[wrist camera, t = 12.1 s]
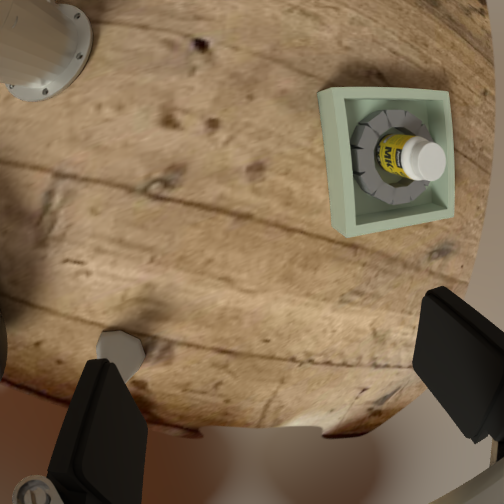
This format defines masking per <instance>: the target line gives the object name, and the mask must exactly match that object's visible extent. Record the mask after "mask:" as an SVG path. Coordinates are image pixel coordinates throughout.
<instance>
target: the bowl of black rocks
mask: <svg viewBox="0 0 504 504" xmlns="http://www.w3.org/2000/svg"><path fill="white" fill-rule="evenodd" d="M7 346H8V345H7V333H6V327H5V322H4V319H3V316H2V313H1V310H0V381H1V379H2V376H3V374H4V370H5V366H6V360H7Z"/></svg>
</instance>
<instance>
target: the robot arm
mask: <svg viewBox="0 0 504 504" xmlns="http://www.w3.org/2000/svg"><path fill="white" fill-rule="evenodd" d="M79 17H80V18H79ZM78 18H79V19H78ZM92 43H93V31H92V25H91V23H90V21H89V18H88V17H87V16H86V15H85V13H84V12H83V11H81V10H80V9H79V8H77V7H75V6H73V5H69V4H56V3H55V0H0V83H5V85H6V87H7V89H8V90H9V92H10V93H11V94H12V95H13V96H14V97H16V98H18V99H20V100H24V101H29V102H38V101H44V100H47V99H49V98H52V97H54V96H55V95H57V94H59V93H61V92H62V91H63V90H64V89H66V88H67V87H68V86H69V85H70V84H71V83H72V82H73V81H74V80H75V79H76V78H77V76H78V75H79V73H80V72H81V71H82V69H83V67H84V65H85V64H86V62H87V60H88V57H89V54H90V52H91V47H92ZM81 56H83V57H82V58H81ZM80 58H81V59H80ZM47 92H48V94H47ZM412 364H413V368H414V371H415V372H416V373H417V375H418V376H419V377H420V378H421V380H422V381H423V382H424V383H425V385H426V386H427V387H428V389H429V390H430V391H431V392H432V394H433V395H434V396H435V397H436V399H437V400H438V401H439V403H440V404H441V405H442V407H443V408H444V409H445V410H446V411H447V413H448V414H449V416H450V417H451V418H452V420H453V421H454V422H455V424H456V425H457V426H458V428H459V429H460V430H461V432H462V433H463V434H464V436H465V437H466V438H469V439H470V438H471V440H472V441H473V442H474V444H476V443H478V442H480V441H481V440H483V439H484V438H486V437H487V436H488V434H490V436H491V437H492V448H491V458H490V467H489V468H488V469H486V470H485V471H483V472H482V473H480V474H479V475H477V476H476V477H474V478H473V479H471V480H469V481H468V482H466V483H465V484H463V485H461V486H460V487H458V488H456V489H455V490H453V491H451V492H449V493H447V494H446V495H444V496H442V497H440V498H439V499H437V500H435V501H433V502H431V503H429V504H504V332H503V331H501V330H500V329H499V328H498V327H496V326H495V325H494V324H493V323H492V322H490V321H489V320H488V319H487V318H485V317H484V316H483V315H481V314H480V313H479V312H478V311H476V310H475V309H474V308H473V307H471V306H470V305H469V304H467V303H466V302H465V301H464V300H462V299H461V298H460V297H458V296H457V295H456V294H454V293H453V292H452V291H450V290H449V289H448V288H446V287H444V286H440V287H437V288H434V289H431V290H428V291H427V292H426V294H425V296H424V297H423V299H422V304H421V312H420V319H419V326H418V332H417V338H416V344H415V350H414V355H413V361H412ZM147 435H148V428H147V423H146V421H145V419H144V417H143V416H142V414H141V412H140V410H139V409H138V407H137V405H136V403H135V401H134V399H133V398H132V396H131V394H130V392H129V390H128V388H127V386H126V384H125V382H124V380H123V378H122V376H121V374H120V372H119V370H118V368H117V366H116V365H115V363H113V362H111V363H110V361H109V360H108V359H106V358H102V359H92V360H88V361H87V363H86V365H85V367H84V370H83V372H82V375H81V377H80V380H79V382H78V385H77V387H76V390H75V392H74V395H73V397H72V400H71V403H70V405H69V408H68V411H67V413H66V416H65V419H64V422H63V424H62V427H61V430H60V433H59V436H58V439H57V442H56V445H55V448H54V451H53V454H52V457H51V460H50V464H49V467H48V470H47V471H48V474H47V477H44V476H40V475H31V476H29V477H26V478H24V479H23V480H22V481H20V482H19V483H18V485H17V486H16V487H15V490H14V492H13V499H12V501H13V504H141V500H142V486H143V474H144V463H145V453H146V444H147Z"/></svg>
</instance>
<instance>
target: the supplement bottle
mask: <svg viewBox="0 0 504 504" xmlns="http://www.w3.org/2000/svg"><path fill="white" fill-rule="evenodd" d="M374 156H375V160H376V162H377V164H378V165H379V167H380V168H381V169H383V170H384V171H387V172H390V173H393V174H396V175H400V176H403V177H406V178H409V179H413V180H418V181H419V180H428V181H435V180H437V179H439V178H440V177H441V176H442V174H443V172H444V170H445V166H446V157H445V153H444V151H443V149H442V147H441V146H440V145H438V144H437V143H435V142H429V141H428V140H426V139H425V138H423V137H419V136H411V135H402V134H385V135H383V136H381V137H380V138H379V139H378V141H377V144H376V146H375V149H374Z"/></svg>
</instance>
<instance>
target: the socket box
mask: <svg viewBox="0 0 504 504" xmlns="http://www.w3.org/2000/svg"><path fill="white" fill-rule="evenodd" d="M317 97H318V103H319V110H320V118H321V125H322V133H323V141H324V149H325V158H326V167H327V177H328V187H329V198H330V210H331V223H332V227H333V228H334V229H336V230H337V231H338V232H340V233H341V234H342V235H343V236H345V237H346V238H349V237H354V236H359V235H364V234H369V233H374V232H380V231H385V230H390V229H395V228H400V227H405V226H410V225H415V224H421V223H426V222H431V221H436V220H441V219H446V218H451V217H454V198H455V172H454V145H453V130H452V118H451V108H450V100H449V92H448V91H439V90H427V89H413V88H393V87H331V88H329V89H326V90H323V91H320V92H317ZM385 134H402V135H411V136H419V137H423V138H425V139H426V140H428V141H429V142H435V143H437V144H438V145H440V146H441V147H442V149H443V151H444V153H445V157H446V166H445V170H444V172H443V174H442V176H441V177H440V178H439V179H437V180H435V181H428V180H419V181H418V180H413V179H409V178H406V177H403V176H400V175H396V174H393V173H390V172H387V171H384V170H383V169H381V168H380V167H379V165H378V164H377V162H376V160H375V156H374V149H375V146H376V144H377V141H378V139H379V138H380V137H381V136H383V135H385Z"/></svg>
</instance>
